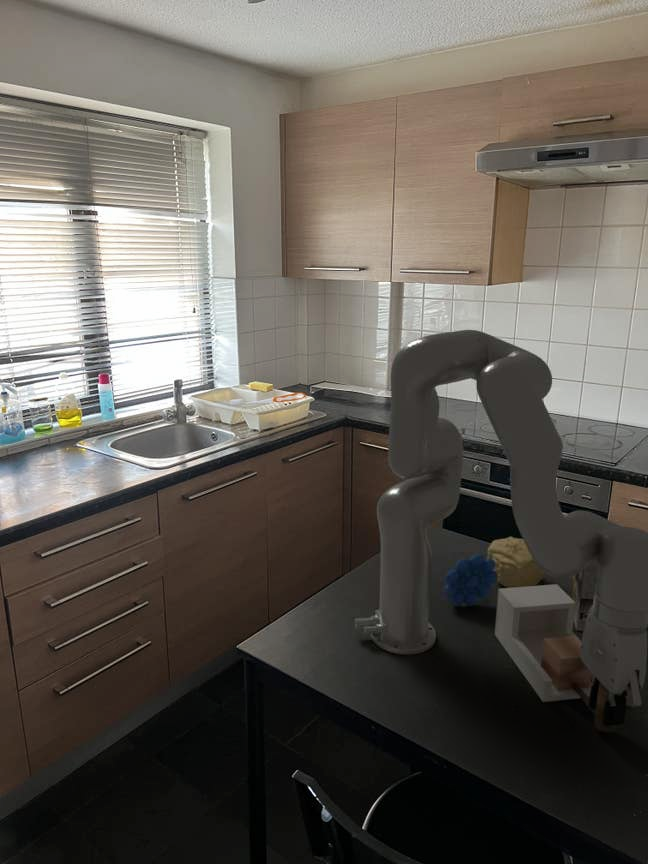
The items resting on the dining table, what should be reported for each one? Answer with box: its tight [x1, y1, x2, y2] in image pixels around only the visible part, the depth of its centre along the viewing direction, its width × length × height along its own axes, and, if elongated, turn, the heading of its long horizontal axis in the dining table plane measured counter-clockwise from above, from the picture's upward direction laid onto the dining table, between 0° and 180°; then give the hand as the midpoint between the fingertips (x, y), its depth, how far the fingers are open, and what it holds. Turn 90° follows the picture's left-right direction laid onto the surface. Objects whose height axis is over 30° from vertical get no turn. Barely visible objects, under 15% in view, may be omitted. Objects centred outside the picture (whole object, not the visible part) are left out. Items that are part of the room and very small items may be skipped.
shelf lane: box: [494, 583, 592, 703], centre depth 116 cm, size 12×20×10 cm, turn 9°
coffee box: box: [570, 563, 598, 632], centre depth 129 cm, size 9×6×16 cm
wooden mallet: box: [541, 635, 621, 733], centre depth 106 cm, size 6×16×8 cm, turn 9°
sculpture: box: [486, 536, 545, 588], centre depth 145 cm, size 12×12×11 cm
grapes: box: [443, 553, 498, 607], centre depth 136 cm, size 12×7×12 cm, turn 98°
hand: (605, 714), depth 100 cm, fingers closed on wooden mallet, 3 cm apart
